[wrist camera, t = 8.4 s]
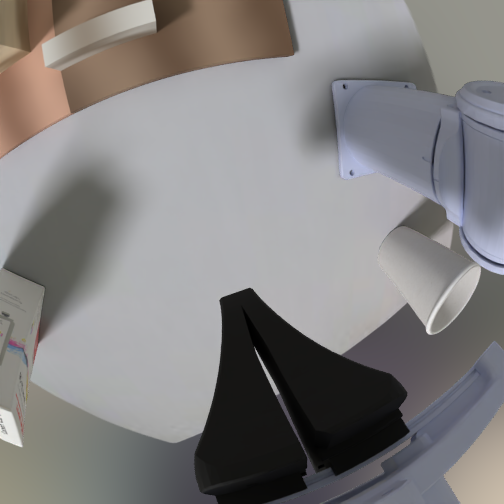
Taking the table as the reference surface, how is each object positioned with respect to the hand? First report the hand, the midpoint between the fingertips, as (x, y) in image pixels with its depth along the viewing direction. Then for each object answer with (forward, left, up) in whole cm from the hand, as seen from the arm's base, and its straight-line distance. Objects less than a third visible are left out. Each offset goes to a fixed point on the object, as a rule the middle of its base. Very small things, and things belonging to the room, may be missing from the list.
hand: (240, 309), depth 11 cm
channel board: (+3, -18, -9) cm, 20 cm away
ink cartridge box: (+19, +2, -10) cm, 21 cm away
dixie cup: (-19, +10, -10) cm, 24 cm away
